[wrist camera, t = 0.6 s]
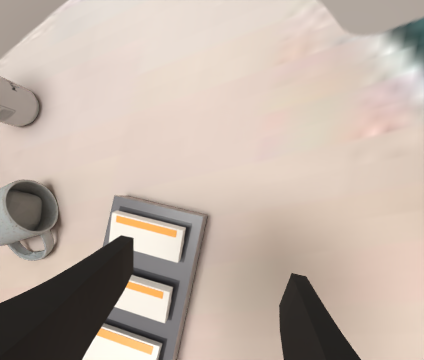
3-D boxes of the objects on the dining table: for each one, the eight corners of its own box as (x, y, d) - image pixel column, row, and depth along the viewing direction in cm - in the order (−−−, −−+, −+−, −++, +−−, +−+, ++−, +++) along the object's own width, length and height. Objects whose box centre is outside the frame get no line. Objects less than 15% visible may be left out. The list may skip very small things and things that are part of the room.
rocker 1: (181, 257, 29) (177, 263, 28) (115, 239, 31) (108, 243, 29) (186, 226, 28) (182, 230, 27) (118, 209, 30) (111, 212, 29)
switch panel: (173, 373, 31) (165, 392, 28) (92, 343, 33) (77, 358, 30) (207, 214, 32) (203, 216, 29) (126, 195, 34) (114, 195, 31)
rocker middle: (169, 315, 29) (164, 324, 28) (102, 294, 30) (95, 301, 29) (173, 285, 28) (169, 292, 27) (105, 265, 30) (98, 271, 28)
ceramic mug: (7, 198, 38) (-55, 200, 30) (51, 180, 36) (-1, 177, 29) (25, 265, 36) (-35, 284, 29) (71, 248, 35) (21, 263, 28)
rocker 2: (153, 380, 28) (148, 387, 26) (85, 354, 29) (77, 359, 28) (163, 342, 29) (159, 347, 27) (96, 319, 30) (90, 322, 29)
